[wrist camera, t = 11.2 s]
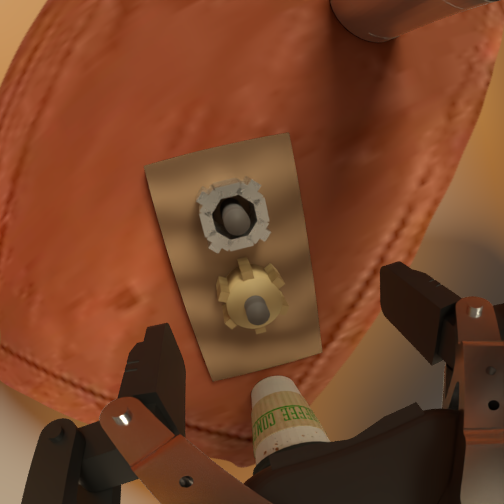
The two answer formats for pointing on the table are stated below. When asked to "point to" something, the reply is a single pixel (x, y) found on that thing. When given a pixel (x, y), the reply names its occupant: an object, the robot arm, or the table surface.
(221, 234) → the steel gear
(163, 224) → the gear board
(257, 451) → the coffee cup
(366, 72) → the table surface
